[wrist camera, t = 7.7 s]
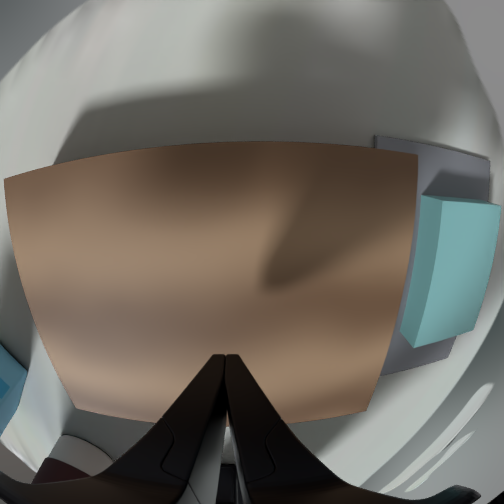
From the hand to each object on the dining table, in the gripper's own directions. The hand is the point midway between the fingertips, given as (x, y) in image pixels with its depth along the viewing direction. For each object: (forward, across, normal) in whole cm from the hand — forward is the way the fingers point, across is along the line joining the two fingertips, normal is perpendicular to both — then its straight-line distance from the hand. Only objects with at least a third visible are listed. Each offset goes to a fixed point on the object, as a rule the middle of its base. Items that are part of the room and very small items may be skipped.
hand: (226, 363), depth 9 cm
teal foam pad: (+4, -14, -1) cm, 15 cm away
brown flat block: (+6, +1, 0) cm, 7 cm away
